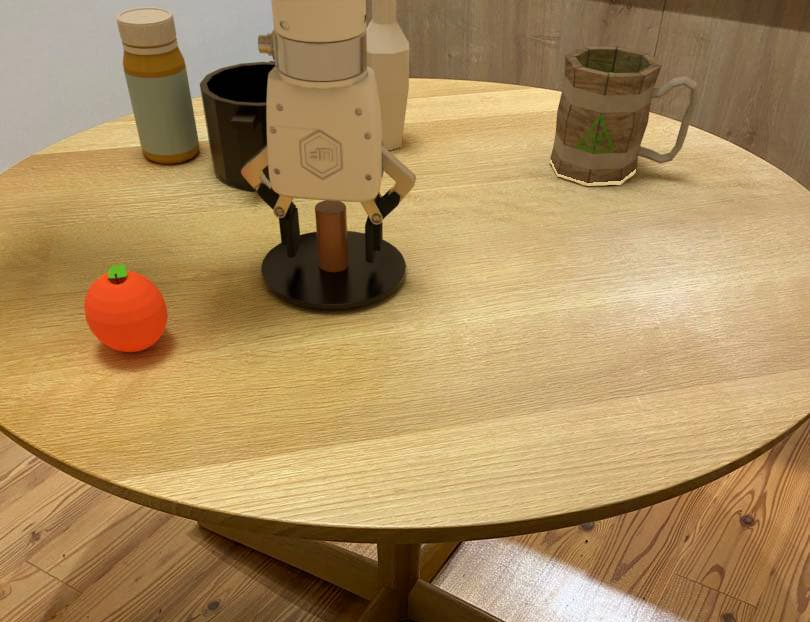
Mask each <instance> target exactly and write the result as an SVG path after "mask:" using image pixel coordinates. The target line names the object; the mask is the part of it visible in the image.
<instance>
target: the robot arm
mask: <svg viewBox="0 0 810 622" xmlns="http://www.w3.org/2000/svg"><path fill="white" fill-rule="evenodd" d="M270 1H271V14H272V23H273V29H272V31H271V33H270V32H269V33H267V34H258V35H257V36H258V38H257V48H258V52H259V54H267V55H268V56H269V57H272V61H275V67H274V68H273V69H272V70H271V71H270V72H269V74H268V84H267V103H266V118H267V145H266V146H265V147H263V148H262V149H261V150H260V151H259V152H258V153H257V154H255V155H254V156H253V157H252V158H251V159H250V160H249V161H247V162H246V163H245V165H244V166H243V168H242V170H241V174H242V176H243V177H244V178H245V179H246V180H247V182H248V183H249V184H250V185H251V186H252V187H253V188H255V190H256V191H257V192H256V191H255V192H256V193H257V195H258V197H259V198H260V199H261V200H262V201H263V202H264V203H265V204H266V205H268V207H269V208H271V209H272V211H273V214H274V216H275V217H276V218H278V225H279V233H280V243H282V244H283V245H286V246H287V255H288V257H291V258H293V257H294V256H296V254H297V251H298V249H299V246H300V243H301V240H300V235H301V231H300V230H301V229H300V218H299V208H298V207H297V205H296V204H295V203H294V202H293V200H294V199H301V200H313V201H314V200H315V201H325V200H327V201H340V202H343V203H344V202H346V203H360V204H361V206H362V208H363V209H364V212H365V213H366V215H367V218H366V221H365V224H364V233H365V254H366V261H368V263H373V261H374V258H375V254H376V251H381V250H382V244H383V240H384V238H383V237H384V236H383V235H384V231H383V230H384V229H383V228H384V227H383V225H384V223H383V222H384V220H385V218H386V217H387V216H389V215H390V214H391V213H392V212H393V211H394V210H395V209H396V208H397V207H398V206H399V205H400V203H401V202H402V201H403V200H404V199H405V198H406V197H407V195H409V193H410V192H411V191H412V190H413V188H414V187H415V185H416V180H417V176H416V174H415V173H414V172H412V170H411V169H409V168H408V167H407V166H406V165H405V164H404V163H403V162H402V161H401V160H400V159H399V158H397V156H395V155H394V154H393V153H392V152H391V151H388V150H387V149H386V148H385V147H384V146H383V132H382V120H381V109H380V101H379V95H378V88H377V83H376V78H375V74H374V71H373V69H371V68H370V67H367V39H366V28H367V0H270ZM267 166H268V168H269V178H270V180H269V179H267V178H266V177H265V175H264V173H263V172H262V170H263V169H264V168H266V167H267ZM384 173H385V174H387V175H388V176H389V177H390V178H391V179H392V180H393V181H395V183H394V185H393V186H392V187H390V189H389V190H388V191H387V192H385V194H383V195H382V193H381V192H380V190H381V185H382V179H383V176H384Z"/></svg>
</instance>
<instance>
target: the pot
mask: <svg viewBox="0 0 810 622" xmlns="http://www.w3.org/2000/svg"><path fill="white" fill-rule="evenodd" d="M274 67H275V60H269V61H255V62H254V61H253V62H243V63H238V64H233V65H229V66H225V67H224V66H223V67H221V68H218V69H216V70H214V71H212V72H209V73H208V74H206V75H205V76H204V78H203V79H202V80H201V81H200V83H199V88H200V96H201V101H202V107H203V114H204V121H205V125H206V132H207V137H208V144H209V151H210V156H211V163H212V166H213V172H214V174H215V176H216V178H217V179H218V180H219V181H220V182H221V183H224V184H225V185H227V186H229V187H232V188H235V189H238V190H242V191H249V192H256V193H257V191H256V190H255V188H253V187H252V186H251V185H250V184H249V183H248V182H247V180H246V179H245V178H244V177H243V176H242V174H241V170H242V168H243V166H244V165H245V163H246V162H247V161H249V160H250V159H251V158H252V157H253V156H254V155H255V154H257V153H258V152H259V151H260V150H261V149H262V148H263V147H265V146H266V145H267V118H266V103H267V84H268V74H269V72H270V71H271V70H272V69H273V68H274ZM262 172H263V173H264V175H265V177H266V178H267V179H269V180H270V178H269V168H268V166H267V167H266V168H264V169H263V170H262Z"/></svg>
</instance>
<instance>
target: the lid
mask: <svg viewBox="0 0 810 622" xmlns="http://www.w3.org/2000/svg"><path fill="white" fill-rule="evenodd" d="M314 214H315V216H314V217H315V229H316V230H315V231H312V232H306V233H303V234H300V240H301V243H300V246H299V249H298V251H297V254H296V256H294V257H293V258H291V257H288V255H287V246H286V245H283V244H282V243H281V242H280V243H278V244H277V245H274V246H273V247H272V248H271V249H270V250H269V251H268V252H267V253H266V254H265V255H264V257H263V259H262V262H261V264H260V265H261V266H260V274H261V278H262V281H263V283H264V285H265V287H267V289H268V290H269V291H271V292H272V293H273V294H274V295H276V296H277V297H278V298H280V299H282V300H284V301H286V302H289V303H292V304H293V305H294V304H295V305H298V306H302V307H307V308H311V309H321V310H322V309H323V310H339V309H351V308H356V307H362V306H366V305H368V304H372V303H375V302H378V301H380V300H382V299H384V298H386V297H387V296H389V295H391V294H392V293H393V292H394V291H396V290H397V289H398V288H399V287H400V286H401V284H402V283H403V281H404V280H405V277H406V272H407V271H406V270H407V264H406V260H405V258H404V256H403V254H402V252H401V251H400V250H399V249H398V248H397V247H396V246H395V245H393V244H391V242H389V241H387V240H385V239H383V244H382V250H381V251H376V254H375V258H374V261H373V263H368V261H366V254H365V232H361V231H360V232H359V231H354V230H348V217H347V216H348V215H347V205H346V204H345V203H344V202H343V201H327V200H320V201H319V202H318V203H316V204H315V206H314Z"/></svg>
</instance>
